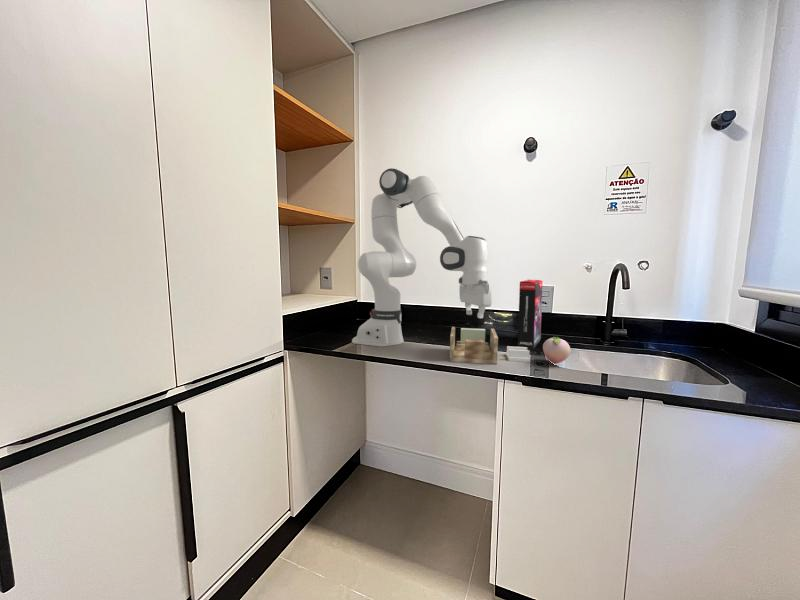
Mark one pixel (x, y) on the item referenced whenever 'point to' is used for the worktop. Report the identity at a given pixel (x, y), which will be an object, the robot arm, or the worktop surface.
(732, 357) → the worktop surface
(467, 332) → the sheet
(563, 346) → the decorative fruit
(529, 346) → the graphics card box
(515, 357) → the holder
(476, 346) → the offcut upper
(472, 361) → the rack
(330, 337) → the worktop surface
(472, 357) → the offcut lower
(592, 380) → the worktop surface
